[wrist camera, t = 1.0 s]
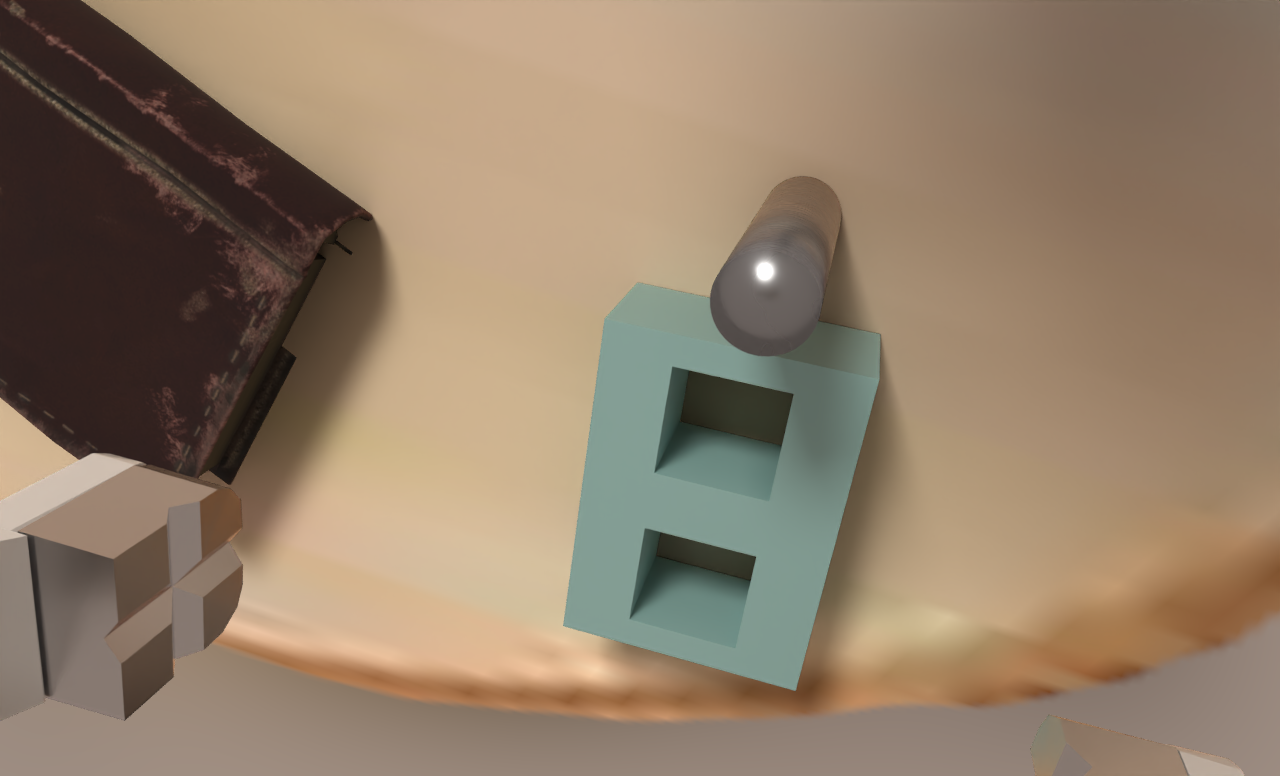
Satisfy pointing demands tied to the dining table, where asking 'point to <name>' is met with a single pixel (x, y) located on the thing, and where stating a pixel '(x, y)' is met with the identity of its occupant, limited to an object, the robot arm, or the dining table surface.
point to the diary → (143, 248)
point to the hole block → (714, 488)
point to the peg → (779, 270)
